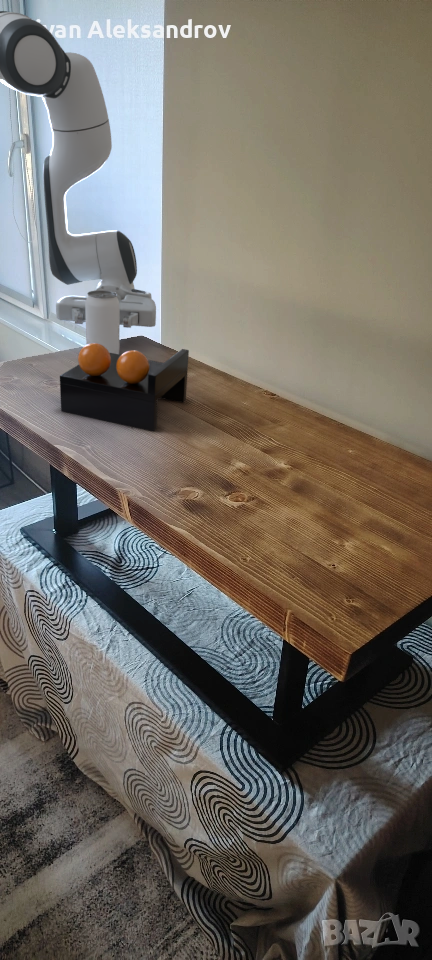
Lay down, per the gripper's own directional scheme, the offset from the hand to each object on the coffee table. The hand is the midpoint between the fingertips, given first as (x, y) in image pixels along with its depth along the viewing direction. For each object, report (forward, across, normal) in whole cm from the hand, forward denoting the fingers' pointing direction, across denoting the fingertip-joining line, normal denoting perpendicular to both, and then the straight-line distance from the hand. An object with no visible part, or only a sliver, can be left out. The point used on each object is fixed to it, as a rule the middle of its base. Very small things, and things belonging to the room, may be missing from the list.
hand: (102, 321), depth 122 cm
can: (+1, 0, +7) cm, 7 cm away
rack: (+26, +7, +6) cm, 27 cm away
